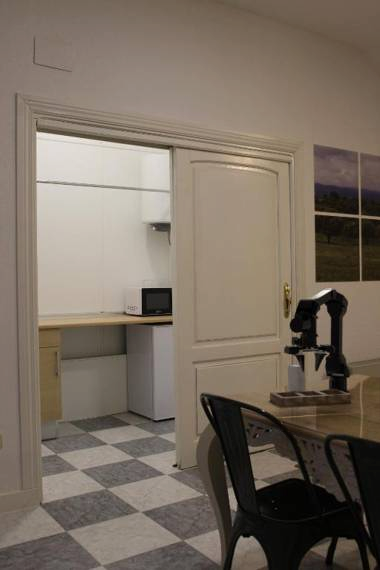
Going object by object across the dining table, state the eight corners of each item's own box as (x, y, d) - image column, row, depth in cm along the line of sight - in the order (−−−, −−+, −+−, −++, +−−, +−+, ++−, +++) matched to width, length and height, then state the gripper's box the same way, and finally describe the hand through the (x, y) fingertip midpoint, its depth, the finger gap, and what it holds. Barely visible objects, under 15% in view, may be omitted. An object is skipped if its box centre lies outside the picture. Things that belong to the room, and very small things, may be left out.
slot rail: (336, 396, 232) (336, 388, 232) (351, 402, 220) (350, 394, 220) (270, 400, 226) (269, 392, 226) (281, 406, 214) (281, 398, 214)
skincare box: (306, 395, 235) (306, 365, 235) (298, 396, 232) (297, 366, 232) (295, 393, 240) (295, 364, 240) (287, 394, 237) (287, 365, 237)
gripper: (322, 329, 233) (322, 367, 233) (278, 330, 229) (279, 369, 229) (335, 331, 222) (335, 371, 222) (289, 332, 218) (290, 374, 218)
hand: (309, 371), depth 223 cm, fingers open, 5 cm apart
